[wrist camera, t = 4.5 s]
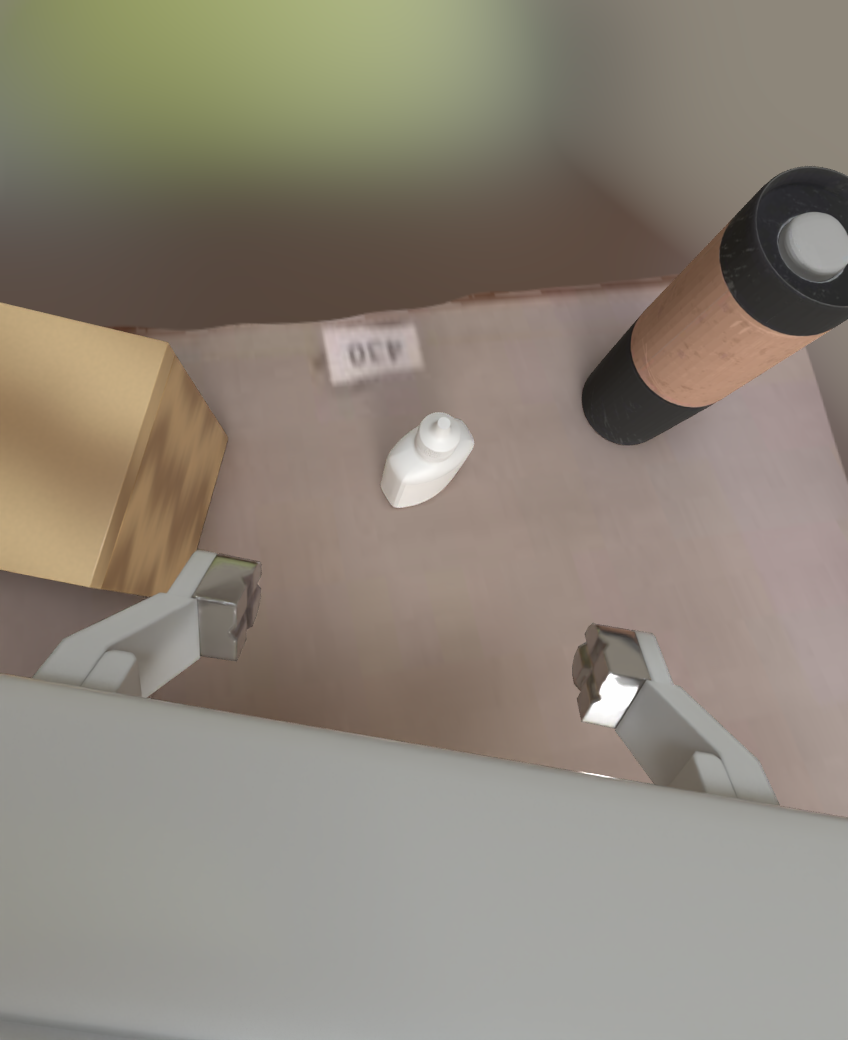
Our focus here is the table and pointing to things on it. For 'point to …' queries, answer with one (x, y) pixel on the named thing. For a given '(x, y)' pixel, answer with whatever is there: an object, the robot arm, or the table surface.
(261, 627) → the table surface
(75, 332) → the plywood crate
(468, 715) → the table surface
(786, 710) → the table surface
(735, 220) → the travel mug
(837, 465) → the table surface
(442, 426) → the eye dropper bottle
